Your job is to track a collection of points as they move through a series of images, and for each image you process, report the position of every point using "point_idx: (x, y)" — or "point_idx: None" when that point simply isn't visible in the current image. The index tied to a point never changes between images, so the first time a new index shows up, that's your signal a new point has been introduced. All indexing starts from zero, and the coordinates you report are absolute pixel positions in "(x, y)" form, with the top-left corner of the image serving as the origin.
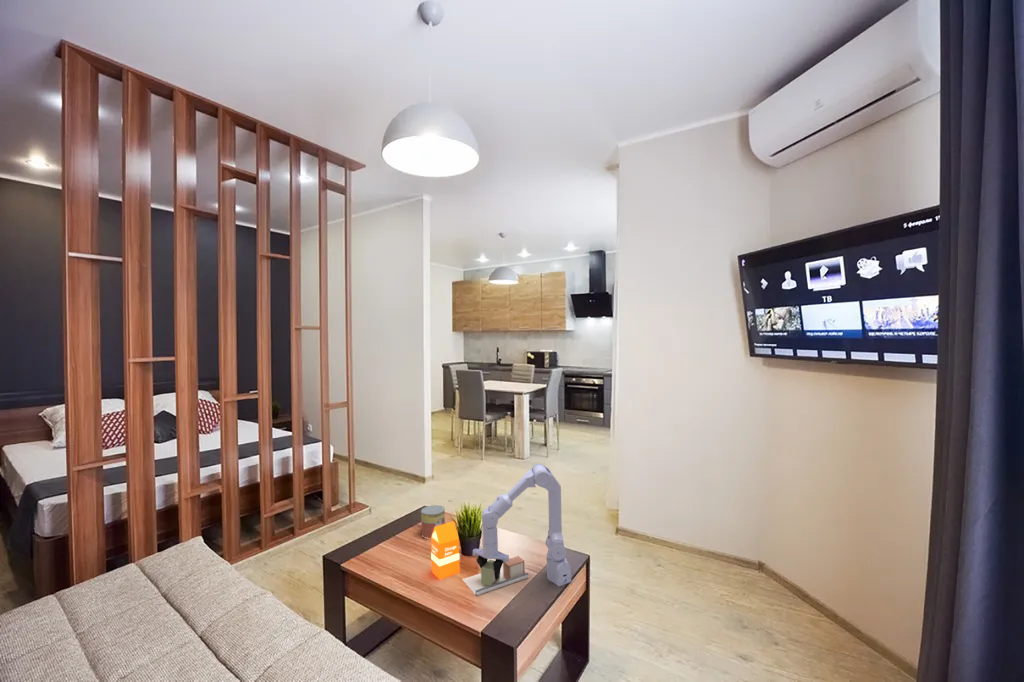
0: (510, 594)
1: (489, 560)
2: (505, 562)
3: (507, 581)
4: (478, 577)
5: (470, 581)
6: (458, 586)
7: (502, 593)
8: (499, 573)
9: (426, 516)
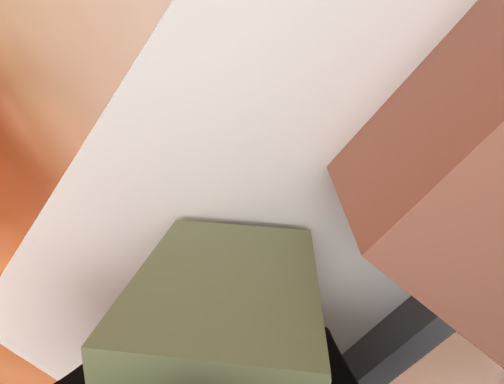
0: (473, 379)
1: (101, 381)
2: (441, 305)
3: (442, 334)
4: (82, 262)
5: (57, 337)
6: (8, 375)
7: (396, 381)
8: (340, 354)
9: None
